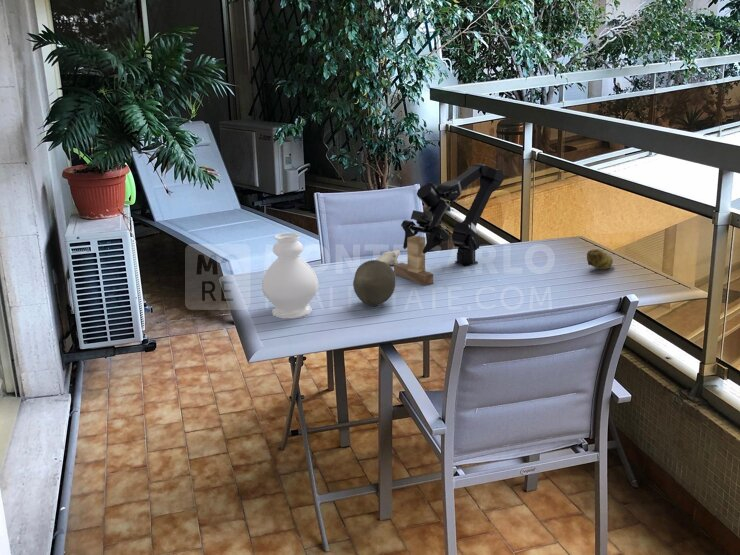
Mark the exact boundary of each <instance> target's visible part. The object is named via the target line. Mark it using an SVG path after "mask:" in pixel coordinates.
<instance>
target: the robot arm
mask: <svg viewBox="0 0 740 555" xmlns="http://www.w3.org/2000/svg"><path fill="white" fill-rule="evenodd" d="M504 179H505V175H504V172H503V170H501V169H497V168H492V167H490V166H488V165H486V164H483V163H477V162H476V163H473V164H472V166H471V167H469V168H468V169H466V170H465V171H464V172H463V173H461V174H460V175H458V176H456V178H454V179H452V180H446V181H444V182H442V183H440V184H438V185H437V187H435V185H434V183H432V182H426V184H424V185H422V186H421V187H420V188H418V189H417V191H416V195H417V196H416V197H418V199H419V200H420V201H421V202H422V203H423V204H424V206H425V207H427V208H428V209H427V210H423V211H418V210H412V213H411V216H410V220H407V219H405V220H402V223H401V224H400V226H401V227H402V229H403V230H404V241H403V247H402V248H403V249H404V250H406V249H407V238H409V237H412V236H415V235H416V236H417V235H418V234H419V233H422V234H427V235H429V238H428V240H427V242H426V243H425V247H424V249H423V253H424V254H425V255H426V254H427V253H428V252H430V251H431V250H432V249H434V248H436V247H438V246H440V245H441V244H444V243H447V242H448V241H449V239H450V234H449V232H447V231H446V229H445V228H444V227H442V226H438V225H441V224H442V223H443V222H442V220H441V219H442V218H443V216H444V215H445V213H446V212H451V211H452V210H451V206H450V205H451V204H450V203H447V202H455V201H456V200H457V199H459V197H460V196H461V194H462V191H464V189H465V188H467V187H468V186H470V185H471V184H472V183H474V182H475V181H476V180H478V182H479V188H478V190H477V193H476V195H475V196H474V199H473V201H472V203H471V206H470V207H469V209H468V211H467V213H466V215H465V218H464V219H463V220H462V222H460V221H458V222H456V223H455V225H454V228H453V230H452V233H451V240H452V242H453V246H454V248H457V252H456V260H455V261H454V263H455V264H458V265H461V266H462V267H463V266H464V267H469V266H472V265H477V264H478V263H479V261H476V251H477V250H478V249H480V245H481V242H480V241H479V240H478V239H477V235H478V232H477V225H478V222H480V219H481V217H482V214H483V212H484V210H485V208H486V206H487V204H488V202H489V200H490V197H491V195H492V193H494V192H495V191H496V190H498V189H499V188H500V187H501V185H502V183H503V182H504ZM446 201H447V202H446ZM412 220H414V221H415V222H416V223H415V222H414V221H412Z"/></svg>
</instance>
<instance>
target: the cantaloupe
mask: <svg viewBox="0 0 740 555" xmlns="http://www.w3.org/2000/svg"><path fill="white" fill-rule="evenodd" d="M396 279H397V278H396V274H395V273H394V268H392V265H388V264H387V263H385V262H382V261H378V260H376V259H372V260H367V261H365V262H363V263H361V264H360V265H359V266H358V267H357V269H356V271H355V273H354V276H353V282H352V285H353V291H354V293H355V296H356V298H358V300H360V301H361V302H362V303H364V305H367V306H372V307H377V306H380V305H382V304H383V303H385V302H387V301H389V299H390V298H391V297H392V295H393V294H394V293H395V292H394V291H395V288H396V283H397V282H396V281H397V280H396Z"/></svg>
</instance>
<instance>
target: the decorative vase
mask: <svg viewBox="0 0 740 555" xmlns="http://www.w3.org/2000/svg"><path fill="white" fill-rule="evenodd" d="M274 239H275V240H276V241H277V242H275V243H274V244H273V246H272V252H273V254H274V255H276V257H277V258H276V259H275V260H274V261H273V262H272V263H271V264H270V266H269V267H268V268H267V270H266V271H265V273H264V275H263V277H262V279H261V290H262V291H261V292H262V293H263V295H264V297H265V298H266V299H267V300H268V301H269V302H270V303H271V305H273V306H274V307H273V309H272V311H271V314H272V315H273V316H274V317H275V316H276V318H278V317H279V318H280V319H285V320H288V319H289V320H290V319H299V318H304V317H306V316H308V315H310V314H311V313H312V306H310V305H309V303H310V302H311V301H312V299H313V298H315V296H316V294H317V292H318V290H319V279H318V276H317V273H316V272H315V270H314V269H313V268H312V267H311V266H310V265H309V264H308V263H307V262H306V261H305V260H304V259H303V258H301V256H300V255H301V254H302V252H303V251H304V245H303V244H302V243H301V242H300V241H299V239H300V234H299V233H294V232H285V233H284V232H283V233H278V234H275V236H274ZM279 318H278V319H279Z"/></svg>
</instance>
